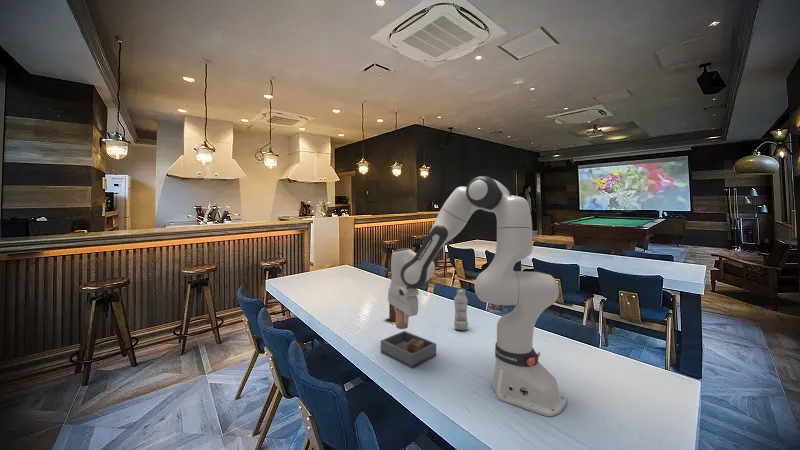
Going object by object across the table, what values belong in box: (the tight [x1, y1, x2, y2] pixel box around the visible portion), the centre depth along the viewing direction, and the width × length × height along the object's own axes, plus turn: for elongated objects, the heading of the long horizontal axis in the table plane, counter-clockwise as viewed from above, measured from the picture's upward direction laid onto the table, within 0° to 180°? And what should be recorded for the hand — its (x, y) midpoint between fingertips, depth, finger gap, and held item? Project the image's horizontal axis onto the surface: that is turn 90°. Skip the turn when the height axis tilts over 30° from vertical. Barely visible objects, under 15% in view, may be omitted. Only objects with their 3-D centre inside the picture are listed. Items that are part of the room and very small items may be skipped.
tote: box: [380, 330, 437, 369], centre depth 125 cm, size 18×14×5 cm
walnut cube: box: [407, 339, 424, 353], centre depth 123 cm, size 5×5×5 cm
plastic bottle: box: [453, 287, 469, 331], centre depth 149 cm, size 6×7×20 cm
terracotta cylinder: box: [395, 309, 409, 330], centre depth 128 cm, size 5×5×7 cm
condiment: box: [383, 302, 396, 325], centre depth 162 cm, size 7×8×12 cm
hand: (402, 319), depth 128 cm, fingers closed on terracotta cylinder, 5 cm apart
